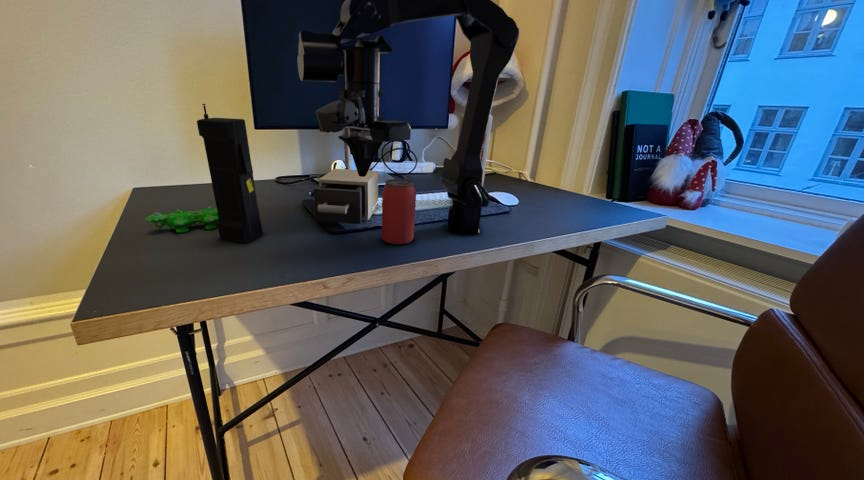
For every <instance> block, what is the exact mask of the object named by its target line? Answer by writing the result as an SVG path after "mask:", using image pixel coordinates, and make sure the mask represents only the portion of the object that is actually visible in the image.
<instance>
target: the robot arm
mask: <svg viewBox="0 0 864 480" xmlns="http://www.w3.org/2000/svg"><path fill="white" fill-rule="evenodd" d="M339 13H340V20H339V21H338V23H337V25H336V26H335V27H334V29H333V30H332V33H318V32H313V31H310V30H301V31H299V33H298V48H297V49H298V52H297V53H298V55H297V56H296V59H297V71H298V76H299V79H300V81H301V82H319V83H320V82H322V83H323V82H324V83H336V82H337V81H338V79H339V76H343V75H344V81H345V82H344V83H345V84H344V85H345V87H344V89H343V88H340V89H339V92H338V99H337V100H335V101H333V102H330V103H328V104H326V105H324V106H322V107H320V108H318V109H317V110H315V114H316V117H317V120H318V128H319V129H318V130H319V132H321V133H327V134H328V133H339V132H341V135H338V136H337V138H338V139H339V140H340V141H342V142H343V143H345V145H346V146H347V147H348V149H349V151H350V154H351V156H352V160H353V162H354V166H355V170H357V172H358V175H359V176H360V177H365V176H366V175H367V172H368V171H370V168H371V166H372V163H373V162H374V160H375V158H376V155H377V153H379V150H380V149H381V147H382V145H383V143H385V142H386V143H391V142H401V141H410V140H411V137H412V136H411V135H412V134H411V133H412V128H411V126H410V123H409V122H408V121H401V120H393V119H392V120H384V116H383V115H379V114H380V113H379V110H380V109H379V108H380V98H384V97H385V90H380V59H381V58H380V55H384V54H389V53H392V52H393V48H392V46H391V45H390V44H389V43H388V42H387V41H386V39H385V37H384V35H380V36H379V35H378V36H377V37H376V38H375V39H374V40H367V39H358V40H357V42H356V43H355V45H354V46H352V45H351V46H350V45H342V44H344V43H347V42H349V41H352V40H355V39H356V38H364V37H366V36H369V35H372V34H375V33H377V32H380V31H383V30H385V29H388V28H390V27H392V26H396V25H398V24H399V25H400V24H405V23H412V22H419V21H420V22H421V21H425V20H426V21H428V20H433V19H441V18H447V17H454V18H455V19H456V20H457V23H458V26H459V28H460V30H461V32H462V35H463V36H464V37H465V38H467V40H468V41H469V42H470V45H469V46H470V47H469V62H470V65H471V66H470V67H471V70H472V77H471V81H470V86H469V90H468V95H467V100H466V104H465V105H466V108H465V113H464V118H463V122H462V127H461V132H460V136H459V141H458V140H457V143H458V146H457V145H456V150H455V152H454V153H453V154H452V156H451V157H450V158H447V157H444V159H443V163H442V165H443V166H442V171H441V173H440V176H439V178H441V186H442V187H443V188H444V190H445V191H446V192H447V193H446V194H447V198H448V199H450V200H451V205H449V206H448V214H447V222H446V223H447V228H448V232H449V233H457V234H467V235H480V224H481V223H480V222H481V216H482V209H483V208H486V207H488V205H489V203H490V200H491V198H492V196H491V195H490V193H488V191H487V190H486V189H485V187H484V185H483V186H482V178H483V167H482V162H481V158H480V154H481V149H482V145H483V141H484V137H485V132H486V128H487V124H488V120H489V116H490V115H491V112H492V107H493V103H494V98H495V94H496V90H497V85H498V82H499V79H500V76H501V74H502V73H503V71H504V70H505V69H506V67H507V65H509V63H510V61H511V60H512V57H513V56H514V52H515V49H516V47H517V44H518V43H519V38H520V28H519V27H518V25H517V23H516V21H515V20H514V18H512V17H510V16H509V15H508V14H507V12H505V10H504V8H502V7H501V6H499V5H498V4H497V3H495V2H494V1H492V0H344V1H343V3H342V4H341V8H340V12H339ZM452 199H453V200H452Z"/></svg>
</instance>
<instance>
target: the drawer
mask: <svg viewBox="0 0 864 480" xmlns="http://www.w3.org/2000/svg"><path fill="white" fill-rule="evenodd" d="M313 199H314V200H313V201H314V213H315V214H314V215H315V221H316V222H328V223H330V222H331V223H342V224H353V225H354V224H355V225H361V224H362V223H363V220H362V215H363V214H364V213H365V185H349V184H333V183H326V184H324V185H323V186H321V188H319V187H314V188H313Z"/></svg>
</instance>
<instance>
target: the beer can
mask: <svg viewBox="0 0 864 480" xmlns="http://www.w3.org/2000/svg"><path fill="white" fill-rule="evenodd" d="M384 182H385V184H384V186H383V189H382V193H381V194H382V196H381V197H382V198H381V205H382V206H381V238H382V240H383V241H384V242H385V243H387V244H389V245H396V246H403V245H408V244H410V243H411V242H413V240H414V237H415V221H416V204H417V202H416V201H417V191H416V187H415V182H414V181H413V180H411V179H406V178H390V179H386V181H384Z"/></svg>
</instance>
